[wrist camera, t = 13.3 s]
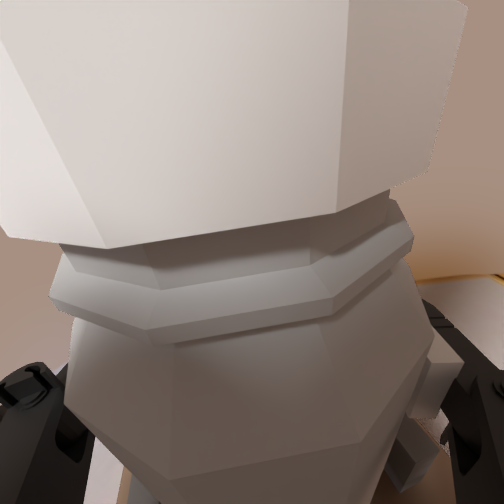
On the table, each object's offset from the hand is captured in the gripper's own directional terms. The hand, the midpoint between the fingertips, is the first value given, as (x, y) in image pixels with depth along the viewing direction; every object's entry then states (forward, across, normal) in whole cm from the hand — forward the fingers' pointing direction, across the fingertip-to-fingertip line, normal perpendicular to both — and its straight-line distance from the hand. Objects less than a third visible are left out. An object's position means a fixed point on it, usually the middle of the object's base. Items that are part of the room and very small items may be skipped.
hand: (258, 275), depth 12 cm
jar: (-4, 0, -10) cm, 11 cm away
